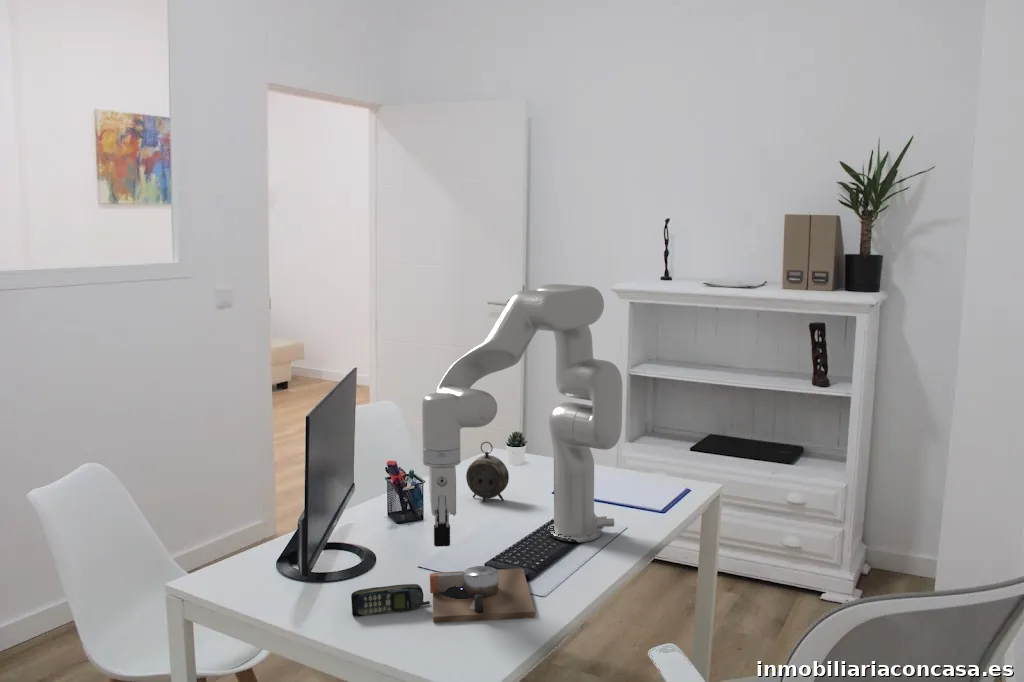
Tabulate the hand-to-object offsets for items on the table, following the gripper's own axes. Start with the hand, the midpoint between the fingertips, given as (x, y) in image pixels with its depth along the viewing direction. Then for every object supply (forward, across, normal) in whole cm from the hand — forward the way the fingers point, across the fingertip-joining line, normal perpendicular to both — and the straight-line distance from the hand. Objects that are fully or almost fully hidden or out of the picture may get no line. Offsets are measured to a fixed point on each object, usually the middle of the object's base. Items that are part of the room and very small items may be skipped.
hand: (442, 544), depth 178 cm
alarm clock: (+9, +57, -13) cm, 59 cm away
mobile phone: (+10, -8, +10) cm, 16 cm away
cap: (+8, -4, -4) cm, 10 cm away
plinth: (+10, -4, -8) cm, 13 cm away
